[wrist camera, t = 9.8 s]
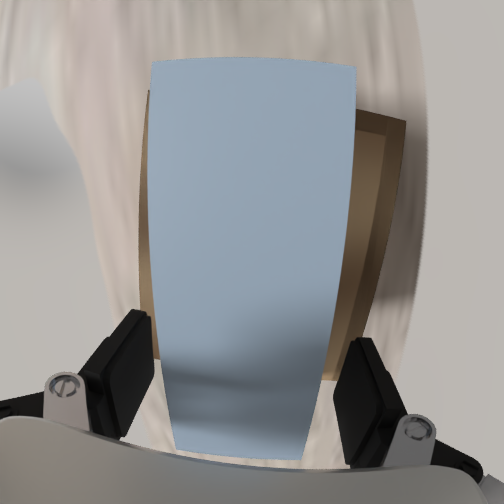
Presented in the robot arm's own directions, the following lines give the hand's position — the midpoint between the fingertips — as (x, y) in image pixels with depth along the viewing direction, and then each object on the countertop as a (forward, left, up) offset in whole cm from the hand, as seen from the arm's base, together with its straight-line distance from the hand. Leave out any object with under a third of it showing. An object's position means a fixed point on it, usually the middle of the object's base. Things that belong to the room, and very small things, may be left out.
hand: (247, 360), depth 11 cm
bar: (-3, 0, -2) cm, 4 cm away
